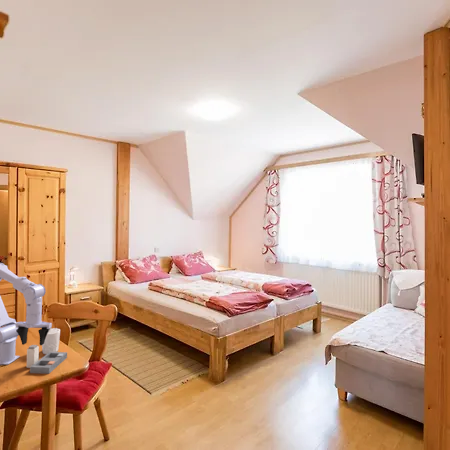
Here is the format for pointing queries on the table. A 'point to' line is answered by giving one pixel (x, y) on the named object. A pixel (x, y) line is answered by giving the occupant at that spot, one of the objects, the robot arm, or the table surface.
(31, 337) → the table surface
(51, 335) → the white cup
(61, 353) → the socket strip
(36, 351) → the plug
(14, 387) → the table surface
